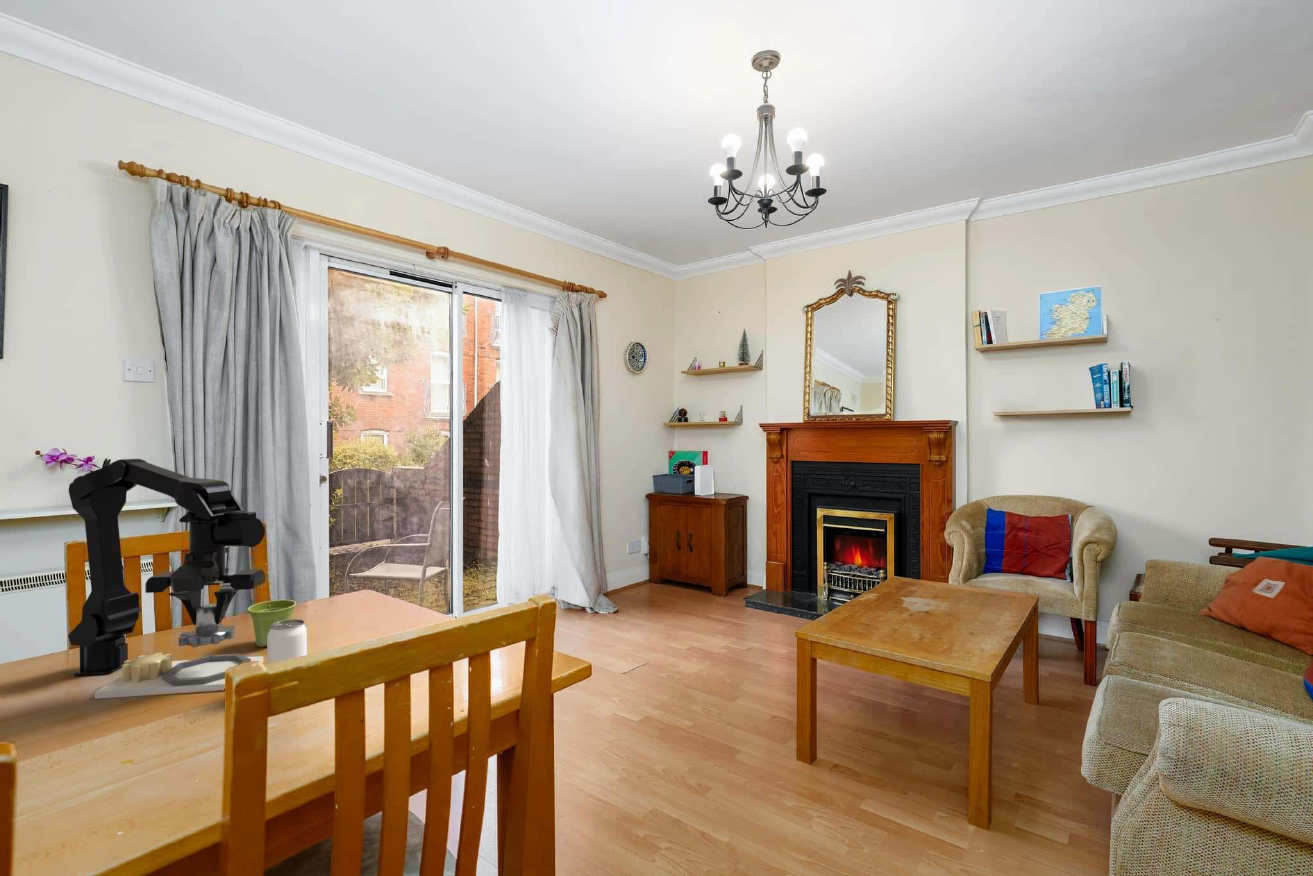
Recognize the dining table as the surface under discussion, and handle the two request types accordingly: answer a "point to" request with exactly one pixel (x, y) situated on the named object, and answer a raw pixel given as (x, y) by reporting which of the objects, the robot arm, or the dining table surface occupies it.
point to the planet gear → (206, 629)
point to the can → (286, 640)
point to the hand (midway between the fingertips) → (207, 624)
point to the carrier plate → (172, 675)
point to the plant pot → (269, 617)
